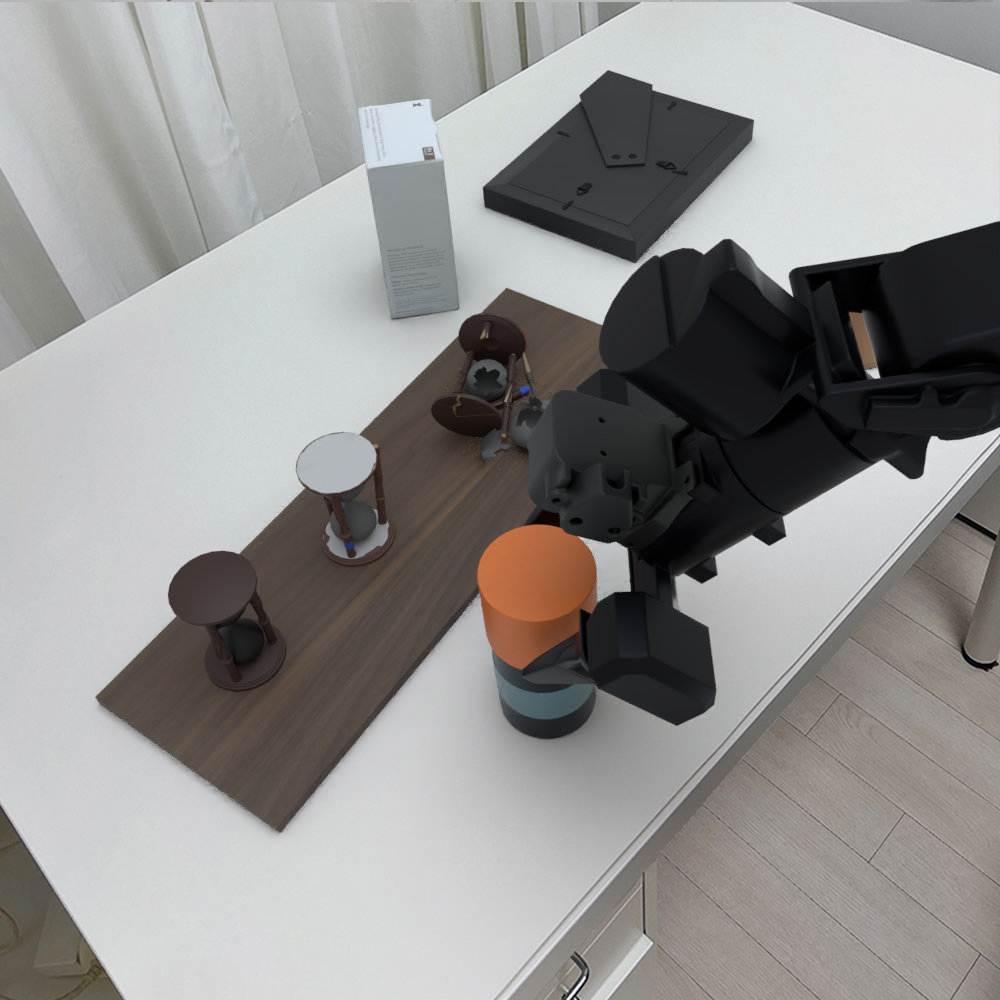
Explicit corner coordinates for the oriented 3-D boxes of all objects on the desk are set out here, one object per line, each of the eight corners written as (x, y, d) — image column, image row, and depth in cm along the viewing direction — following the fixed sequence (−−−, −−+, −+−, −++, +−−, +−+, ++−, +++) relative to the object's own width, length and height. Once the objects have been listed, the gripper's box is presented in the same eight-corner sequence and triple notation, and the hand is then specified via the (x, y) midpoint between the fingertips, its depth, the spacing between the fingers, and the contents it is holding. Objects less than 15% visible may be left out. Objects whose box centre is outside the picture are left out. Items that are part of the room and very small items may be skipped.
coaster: (890, 306, 87) (891, 300, 86) (907, 368, 82) (909, 362, 82) (799, 309, 87) (800, 303, 87) (811, 371, 83) (812, 365, 82)
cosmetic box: (382, 261, 95) (351, 104, 84) (451, 250, 96) (430, 92, 84) (392, 324, 90) (360, 166, 78) (465, 312, 90) (444, 153, 79)
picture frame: (608, 96, 109) (484, 206, 99) (607, 69, 107) (481, 179, 97) (752, 139, 102) (635, 262, 92) (755, 112, 100) (635, 235, 90)
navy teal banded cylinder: (595, 654, 69) (594, 579, 63) (597, 740, 65) (595, 670, 59) (501, 654, 69) (490, 580, 63) (497, 740, 65) (485, 670, 59)
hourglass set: (671, 360, 85) (676, 272, 78) (280, 832, 63) (241, 765, 56) (507, 295, 91) (499, 208, 85) (99, 703, 69) (45, 629, 63)
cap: (596, 577, 63) (595, 523, 59) (598, 672, 59) (597, 621, 55) (488, 578, 63) (480, 524, 59) (482, 673, 59) (473, 622, 55)
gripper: (621, 235, 52) (419, 408, 61) (650, 552, 40) (394, 708, 49) (770, 351, 58) (564, 494, 67) (834, 660, 46) (573, 781, 55)
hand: (527, 602), depth 59 cm, fingers open, 9 cm apart
